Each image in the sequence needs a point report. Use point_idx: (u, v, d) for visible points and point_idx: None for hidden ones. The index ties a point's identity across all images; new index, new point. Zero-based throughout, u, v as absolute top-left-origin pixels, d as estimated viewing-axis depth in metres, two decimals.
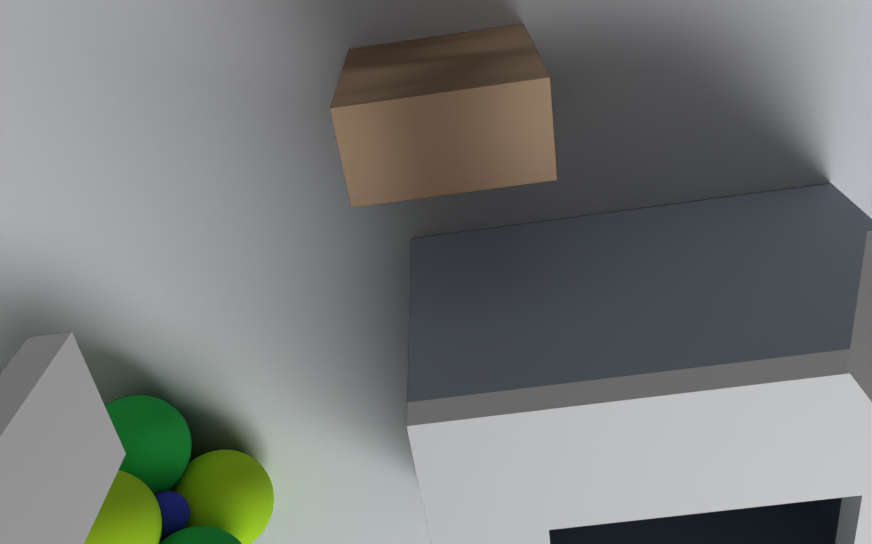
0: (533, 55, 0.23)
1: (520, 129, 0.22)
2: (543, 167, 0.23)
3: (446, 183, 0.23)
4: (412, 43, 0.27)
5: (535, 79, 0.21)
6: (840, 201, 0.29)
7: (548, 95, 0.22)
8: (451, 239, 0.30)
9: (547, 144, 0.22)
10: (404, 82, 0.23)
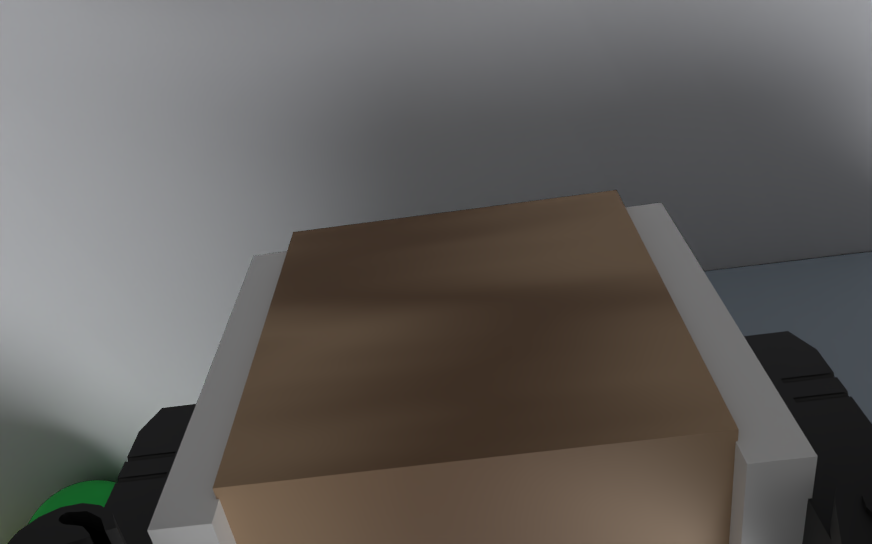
0: (668, 314, 0.11)
1: (655, 522, 0.10)
2: None
3: None
4: (410, 230, 0.14)
5: (703, 432, 0.09)
6: None
7: (730, 463, 0.09)
8: None
9: None
10: (389, 387, 0.10)
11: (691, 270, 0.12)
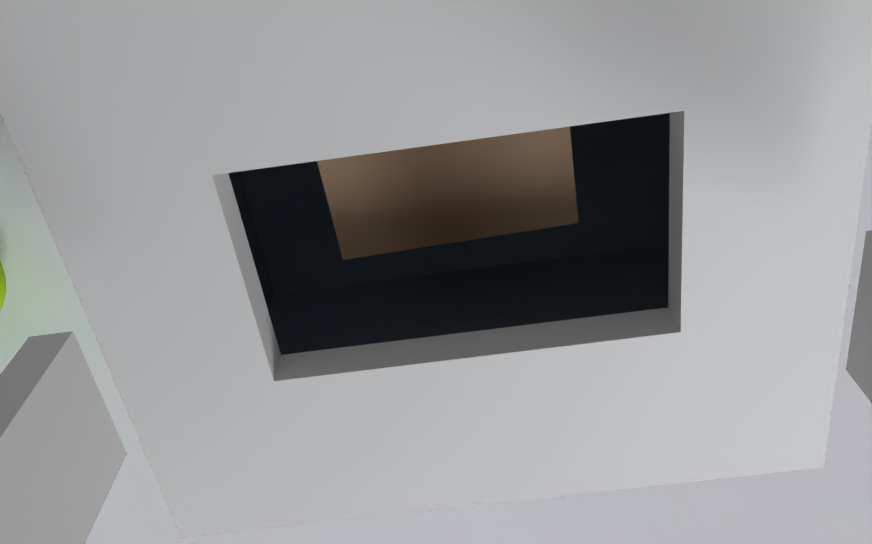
0: None
1: (534, 167, 0.19)
2: (562, 209, 0.20)
3: (451, 230, 0.20)
4: None
5: None
6: None
7: (566, 128, 0.19)
8: None
9: (566, 183, 0.19)
10: None
11: None
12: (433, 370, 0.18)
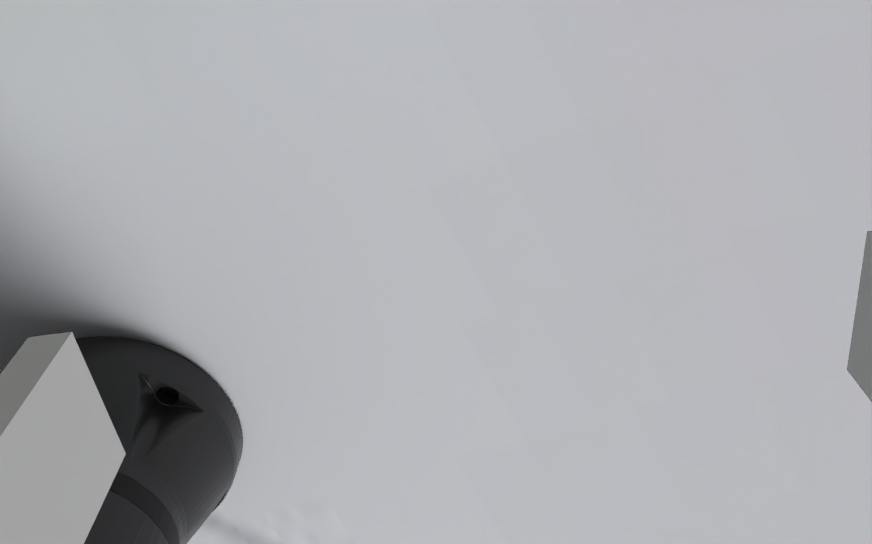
0: None
1: None
2: None
3: None
4: None
5: None
6: None
7: None
8: None
9: None
10: None
11: None
12: None
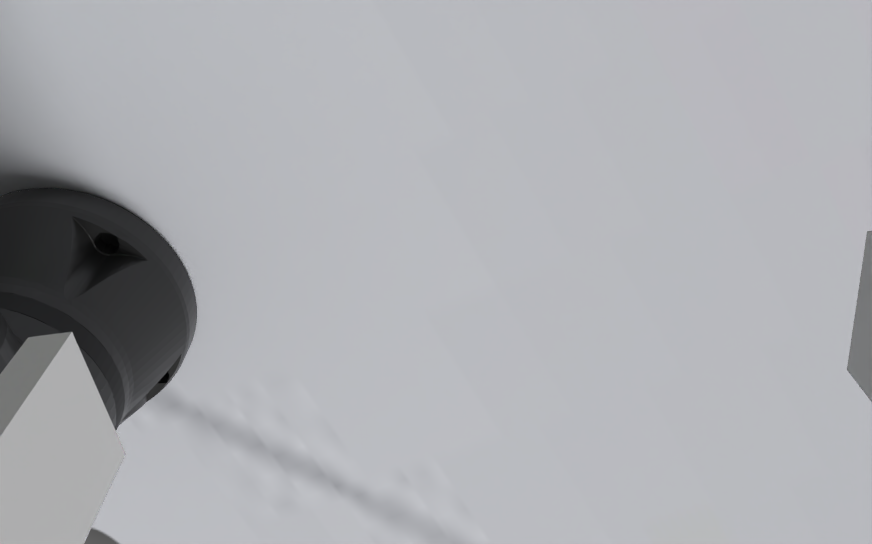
0: None
1: None
2: None
3: None
4: None
5: None
6: None
7: None
8: None
9: None
10: None
11: None
12: None
